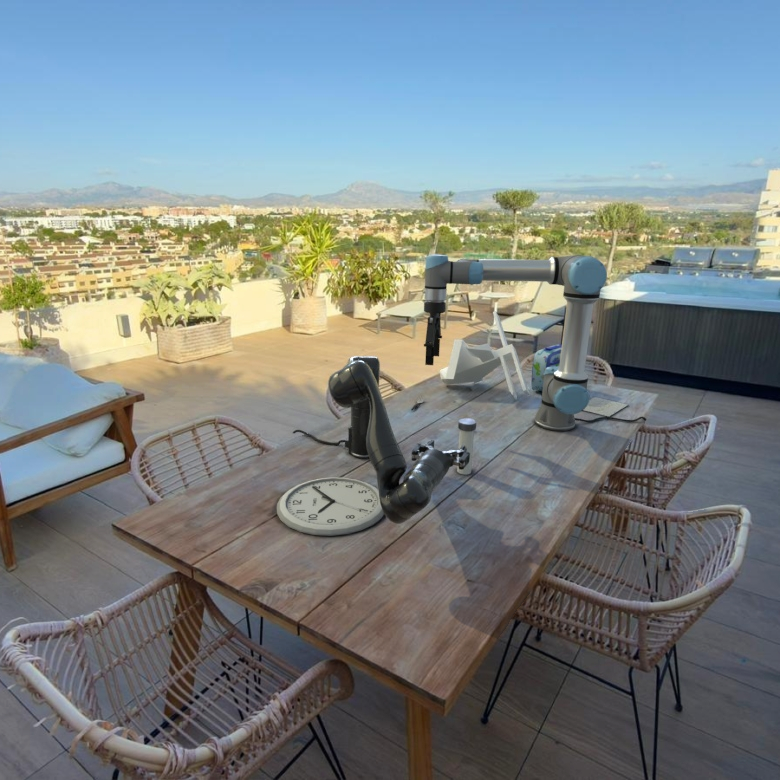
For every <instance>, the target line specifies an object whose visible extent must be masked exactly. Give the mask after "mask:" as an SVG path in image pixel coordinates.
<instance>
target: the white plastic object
mask: <svg viewBox="0 0 780 780" xmlns="http://www.w3.org/2000/svg"><path fill="white" fill-rule="evenodd" d="M492 315H493V319H494V321H495V324H496V325H495V326H496V328H497V332H498V335H499V338H500V342H501V345H502V347H500V348H498V349H496V350H495V349H493V348H492V347H491V346H490V344H489V343H488V342H487V343H483V344H479V345H473V346H469V345H468V343H466V342H465V340H464V339H463V338H460V339H458V338H454V340H453V344H452V349H451V353H450V357H449V362H448V366H446V367H444V368H442V369H440V370H439V371H438V372H439V376H440V381H442V383H443V384H444V385H445V386H449V385H458V384H467V383H468V384H469V383H473V384H477V383H480V382H482V381H484V378H485V377H486V376H487V375H489V374H490V373H492V372H494V371H495V370H496V369H497V368H499V367H500V366H502V370H503V373H504V376H505V380H506V383H507V386H508V390H509V393H510V394H511V395H512V397H513V398H514V399H515V400H517V392H516V391H517V390H516V388H515V385H514V381H513V378H512V375H511V371H510V369H509V365H508V361H510V360H513V363H514V366H515V369H516V372H517V376H518V380H519V382H520V385H521V389H522V391H523V393H524V395H525V396H526V397H528V396H531V395H530V390H529V388H528V387H529V386H528V384H527V381H526V378H525V375H524V371H523V369H522V368H523V367H522V366H521V362H520V359H519V355H518V352H517V349H516V347H515V346H514V345H513V343H511V344H508V341H507V337H506V334H505V331H504V328H503V325H502V321H501V318H500V315H499V314H498V312H497V311H496V310H495V311H492Z"/></svg>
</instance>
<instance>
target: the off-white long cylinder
mask: <svg viewBox="0 0 780 780" xmlns="http://www.w3.org/2000/svg"><path fill="white" fill-rule="evenodd" d="M474 439H475V430H474V431H462V430H460V429H459V435H458V450H459V449H460V448H461V446H462V445H465V447H466V448H467V452H470V460H469V463H468V464H467V465H466V467H465V468H464V469H463V470H460V469H459V466H456V467H457V468H456V471H457V473H458V474H460V475H463V476H464V475H465V476H466V475H467V476H468V475H470V474H471V473H472V467H473V466H472V465H473V453H474ZM457 457H459V454H458V455H457Z"/></svg>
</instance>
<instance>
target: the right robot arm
mask: <svg viewBox="0 0 780 780" xmlns="http://www.w3.org/2000/svg"><path fill="white" fill-rule="evenodd" d="M607 279H608V272H607V269H606V266H605V265H604V263H603V262H602V261H600V260H599V259H598V258H596V257H594V256H588V255H583V254H575V255H567V256H551V257H550V258H549V259H472V258H471V259H470V258H469V259H468V258H460V259H457V260H456V261H454V260H452V261H451V260H449V257H448V255H447V254H429V255H427V256H426V257H425V267H424V290H423V291H422V293H423V294H424V297H423V298H424V302H423V312H424V313H426V314H429V316H428V317H427V325H426V334H425V341H424V343H423V347H425V364H424V365H425V366H434V359H435V357H440V348H441V347H440V346H441V345H440V344H441V339H443V335H442V327H441V325H442V323H441V321H442V320H441V315H442V314H444V313H446V307H447V302H446V300H447V291H448V290H447V287H448V286H447V285H448V284H449V285H470V286H473V285H481V284H482V283H483V282H542V283H543V282H547V283H548V284H549V285H557V286H563V293H562V294H563V295H562V297H563V298H564V300H566V308H565V317H564V324H563V325H564V326H563V333H562V341H561V345H562V348H561V356H560V364H559V367H556V366H554V367H547V368H546V369H545V373H544V382H543V392H542V391H541V393H542V394H541V402H540V405H539V407H538V410H537V411H536V413H535V417H534V424H535V425H536V426H537V427H539V428H542V429H544V430H549V431H556V432H567V431H572V430H574V429H575V428H576V421H579V422H584V423H594V422H596V421H599V420H615V421H621V422H625V423H626V422H627V423H634V422H638V421H640V420H642V419H643V420H644V421H647V418H646V417H645V416H639V417H637V418H635V419H624V418H619V417H612V416H609V417H608V416H600V417H597V418H594V419H582V418H577V417H576V416H575V415H576V414H579V413H581V412H582V411H584V409H585V408H586V406H587V405H588V403H589V400H590V394H589V390H588V389H587V388H588V383H589V382H588V381H589V375H588V374H587V373H586V372H585V369H586V363H587V355H588V348H589V340H590V334H591V325H592V319H593V310H594V304H595V303H596V302H597V301H598V300H599V299H600V295H601V290H602V288H604V287H605V284H606V282H607Z"/></svg>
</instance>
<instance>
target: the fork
mask: <svg viewBox="0 0 780 780" xmlns="http://www.w3.org/2000/svg"><path fill="white" fill-rule="evenodd" d="M425 397H426V396H423V395H420V396H419V397H418V398H417V401H416V402H417V403H415V404H414V405H413V406H412V408H411V409H410V410H411V411H413V410H415V409H416V408H417V407H418V405H419V404H423V403H424V401H425Z"/></svg>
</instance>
